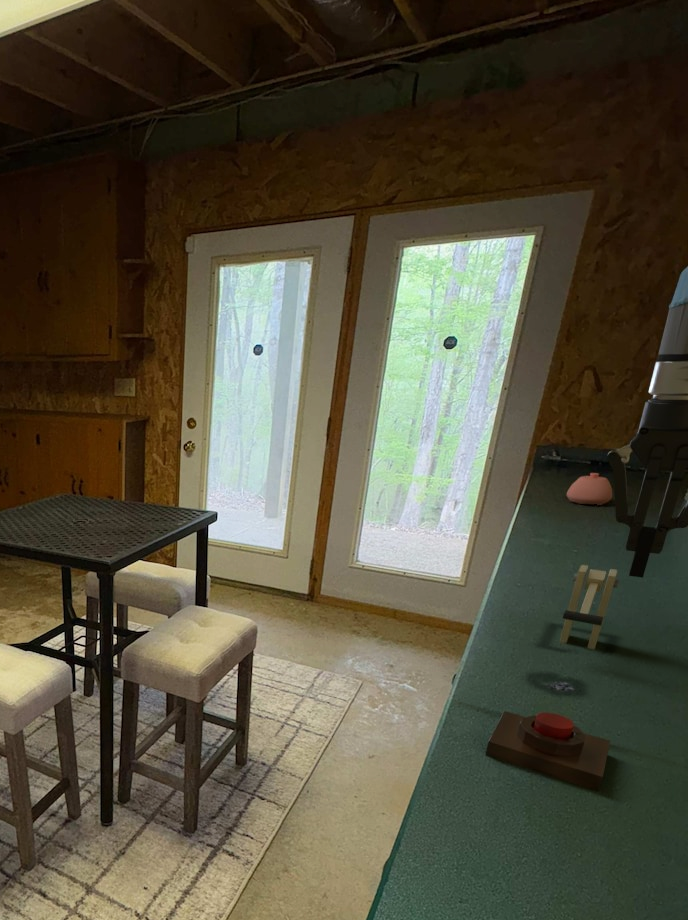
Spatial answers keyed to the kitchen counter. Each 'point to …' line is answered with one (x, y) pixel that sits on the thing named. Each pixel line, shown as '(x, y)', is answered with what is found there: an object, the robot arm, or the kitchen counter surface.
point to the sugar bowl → (590, 490)
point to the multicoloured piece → (588, 599)
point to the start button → (553, 725)
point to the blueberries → (561, 686)
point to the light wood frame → (574, 602)
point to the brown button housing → (549, 751)
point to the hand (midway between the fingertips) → (636, 574)
